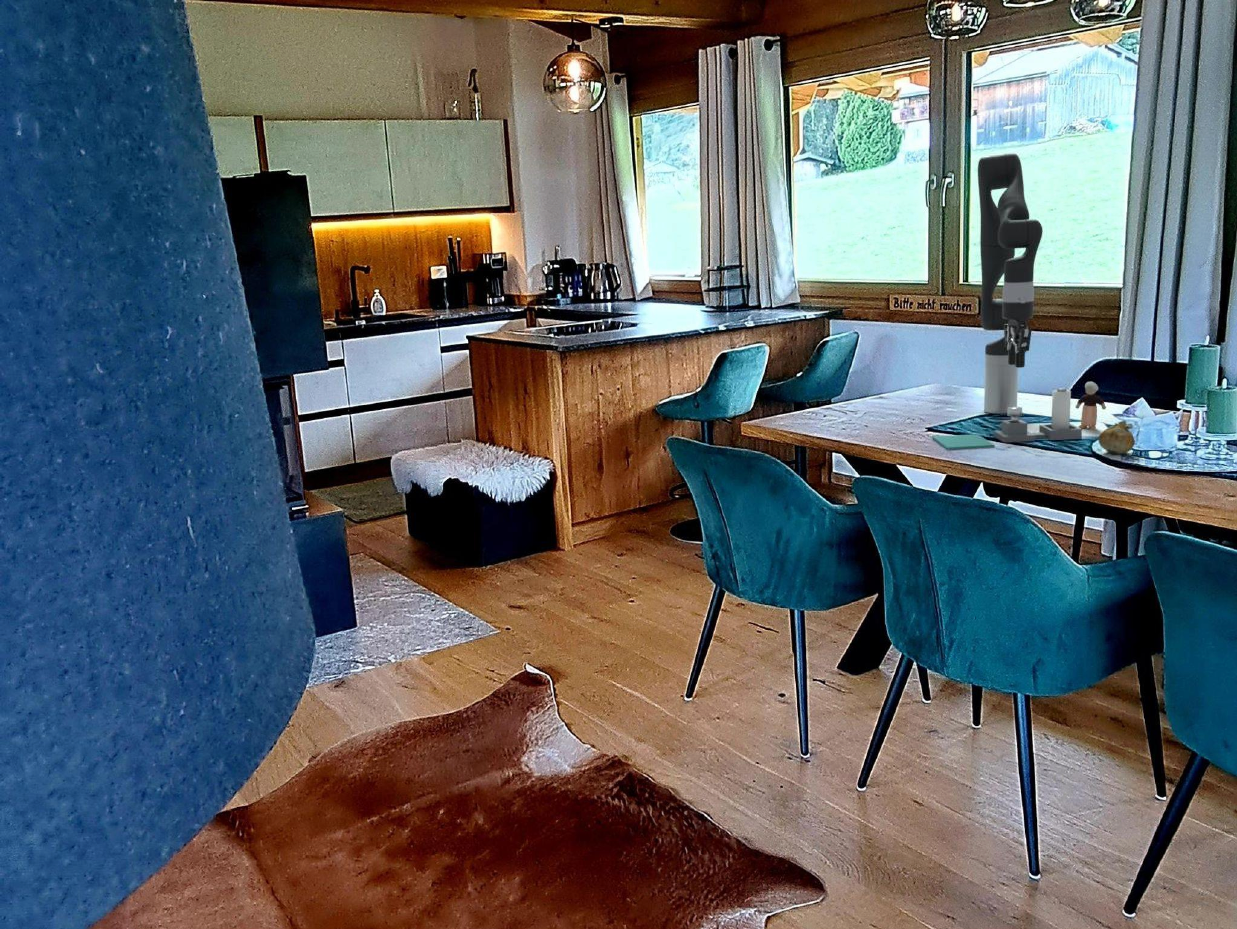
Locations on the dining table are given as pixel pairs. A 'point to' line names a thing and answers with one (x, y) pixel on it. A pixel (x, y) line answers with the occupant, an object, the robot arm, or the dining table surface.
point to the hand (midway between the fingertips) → (1016, 365)
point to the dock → (1020, 433)
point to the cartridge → (1061, 409)
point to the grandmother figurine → (1090, 406)
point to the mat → (963, 442)
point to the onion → (1117, 438)
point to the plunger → (1014, 413)
